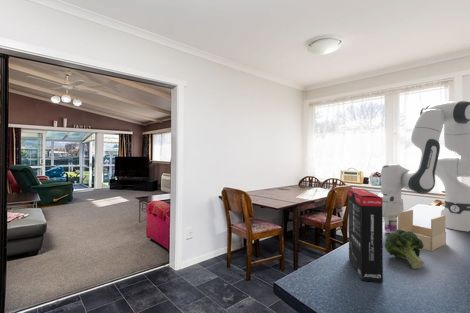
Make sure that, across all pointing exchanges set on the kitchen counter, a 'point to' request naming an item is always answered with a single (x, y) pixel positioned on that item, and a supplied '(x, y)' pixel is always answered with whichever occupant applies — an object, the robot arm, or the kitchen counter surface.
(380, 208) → the graphics card box
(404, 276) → the kitchen counter surface
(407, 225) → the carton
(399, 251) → the vegetable
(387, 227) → the pill bottle
